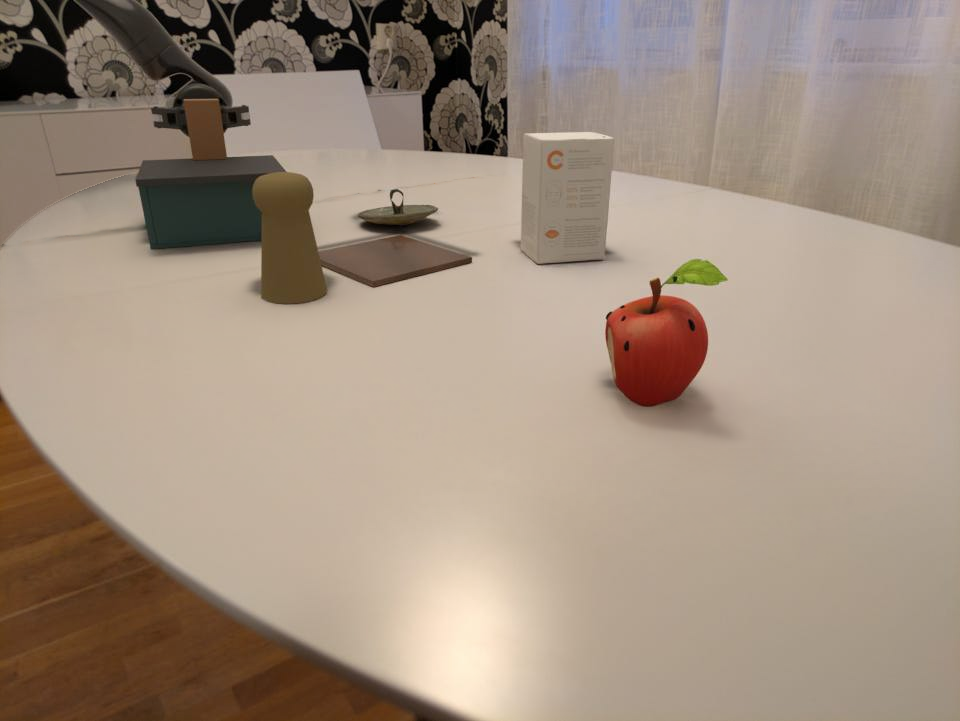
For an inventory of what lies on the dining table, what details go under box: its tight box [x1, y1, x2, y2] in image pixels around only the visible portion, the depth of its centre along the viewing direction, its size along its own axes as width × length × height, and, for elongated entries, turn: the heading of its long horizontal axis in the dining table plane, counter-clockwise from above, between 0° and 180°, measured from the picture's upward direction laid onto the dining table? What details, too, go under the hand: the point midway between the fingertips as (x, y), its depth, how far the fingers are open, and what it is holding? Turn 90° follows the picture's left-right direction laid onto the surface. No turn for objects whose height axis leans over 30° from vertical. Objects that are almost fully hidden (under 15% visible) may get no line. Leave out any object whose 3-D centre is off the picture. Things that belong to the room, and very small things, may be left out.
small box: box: [520, 131, 615, 265], centre depth 73 cm, size 8×6×13 cm
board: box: [318, 234, 473, 288], centre depth 73 cm, size 13×13×1 cm
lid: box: [357, 188, 439, 226], centre depth 88 cm, size 11×10×5 cm
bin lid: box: [134, 99, 287, 188], centre depth 78 cm, size 16×14×8 cm
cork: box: [252, 171, 328, 305], centre depth 61 cm, size 6×6×11 cm
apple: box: [604, 258, 729, 408], centre depth 42 cm, size 8×7×10 cm
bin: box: [137, 181, 262, 250], centre depth 83 cm, size 16×14×8 cm
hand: (203, 122), depth 84 cm, fingers closed
